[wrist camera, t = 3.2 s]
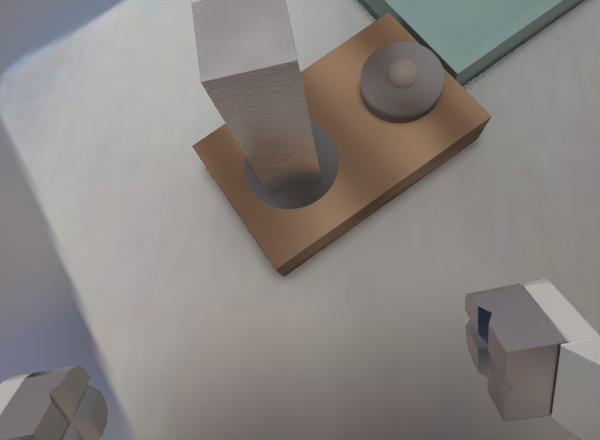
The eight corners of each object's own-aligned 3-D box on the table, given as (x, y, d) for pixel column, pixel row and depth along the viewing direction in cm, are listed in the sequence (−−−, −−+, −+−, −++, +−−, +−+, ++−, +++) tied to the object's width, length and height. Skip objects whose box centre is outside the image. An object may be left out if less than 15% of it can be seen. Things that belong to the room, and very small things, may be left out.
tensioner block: (385, 41, 31) (390, -9, 27) (477, 138, 28) (501, 100, 24) (207, 164, 30) (181, 133, 26) (284, 276, 28) (270, 264, 23)
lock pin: (312, 133, 27) (281, -19, 15) (322, 182, 26) (297, 60, 14) (260, 144, 27) (191, 3, 15) (268, 193, 26) (200, 82, 14)
